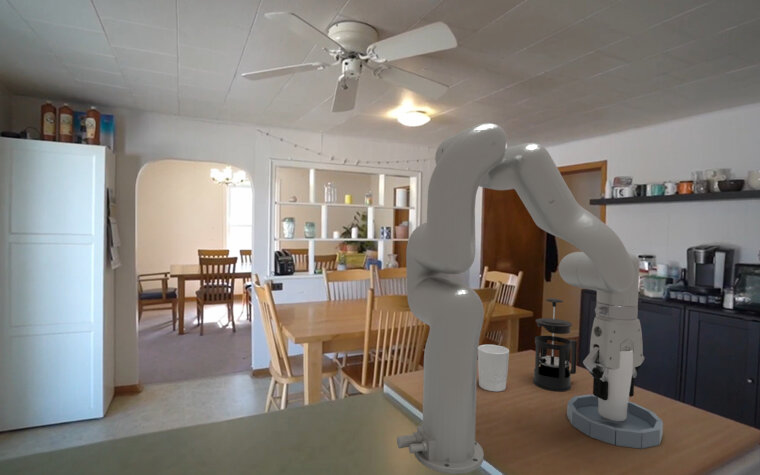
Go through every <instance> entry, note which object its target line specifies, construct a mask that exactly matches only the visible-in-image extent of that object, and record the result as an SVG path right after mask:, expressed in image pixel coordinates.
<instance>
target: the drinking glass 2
mask: <svg viewBox="0 0 760 475" xmlns="http://www.w3.org/2000/svg"><path fill="white" fill-rule="evenodd" d="M599 363H600V364H602V363H601V360H600V357H599ZM602 370H603V368H602V367H600V366H599V371H600V372H602ZM632 372H633V351H632V350H631V351H621V354H620V365H619V368H618V369H614V370H611V369H609V373H608V375H607V378H606V381H608V399H607V400H602V399H600V398H598V413H599V414H600V415H601V416H602V417H604V418H606V419H608V420H612V421H624V420H626V418H627V408H628V401H630V400H629V399H630V398H629V397H630V396H629V393H630V386H631V379H632Z"/></svg>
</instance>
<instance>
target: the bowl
mask: <svg viewBox="0 0 760 475" xmlns="http://www.w3.org/2000/svg"><path fill="white" fill-rule="evenodd" d="M566 404H567V406H566V408H567V409H566V417H567V419H568V421H569V422H570V424H571V426H572V427H574V429H577V430H578V431H580V433H583V434H584V435H587V437H590V438H593V439H595V440H598V441H601V442H604V443H607V444H610V445H612V446H616V447H625V448H633V449H646V448H653V447H656V446H660V444H661V441H662V439H663V436H664V435H663V432H664V431H663V430H664V421H663V419H661V418H660V417H659V416H658V415H657V414H656V412H654V411H652V410H650V409H649V408H646V407H644V406H641V405H639V404H638V403H635V402H633V401H630V400H628V408H627V418H626V420H624V421H612V420H608V419H606V418H604V417H602V416H601V415H600V414H599V413H598V397H596V396H594V395H593V394H583V395H574V396H573V397H572V398H570V399H569V400H568V402H567V403H566Z"/></svg>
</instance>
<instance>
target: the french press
mask: <svg viewBox="0 0 760 475" xmlns="http://www.w3.org/2000/svg"><path fill="white" fill-rule="evenodd" d="M545 301H546V302H550V303H552V307H553V312H552V314H553V315H552V318H551V317H550V318H548V317H546V318H545V317H543V318H537V319H535V323H537V326H536V327H537V328H541V327H543V328H544V329H545V330H546V331H547V332H548V333H551V334H552V335H537V336H535V338H534V343H535V359H534V360H535V361H534V362H535V366H534V370H533V379H532V382H533V384H534V385H535V386H537V388H540V389H544V390H547V391H551V392H567V391H570V390H571V388H572V385H571V375H575V374H577V347H578V345H577V344H578V342H577V341H576V340H575V339H567V338H565V337H561V336H555V334H556V335H565V334H570V333H571V327H573V323H572V322H571V321H568V320H564V319H558V318H555V314H556V307H557V303H563V302H564V300H562V299H559V298H547V299H545ZM548 341H551V343H548ZM555 342H558V343H562V344H554V343H555ZM548 350H551V355H548V353H547V352H548ZM554 351H559V352H558V356H554ZM570 353H571V354H570ZM570 355H571V360H570ZM570 362H571V363H570Z"/></svg>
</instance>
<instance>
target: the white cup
mask: <svg viewBox="0 0 760 475" xmlns="http://www.w3.org/2000/svg"><path fill="white" fill-rule="evenodd" d="M509 356H510V350H509V348H507V347H505V346H501V345H498V344H497V345H496V344H481V345H478V354H477V373H478V385H479V387H480V388H481V389H483V390H485V391H489V392H503V391H505V390H506V388H507V379H508V370H509Z"/></svg>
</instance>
